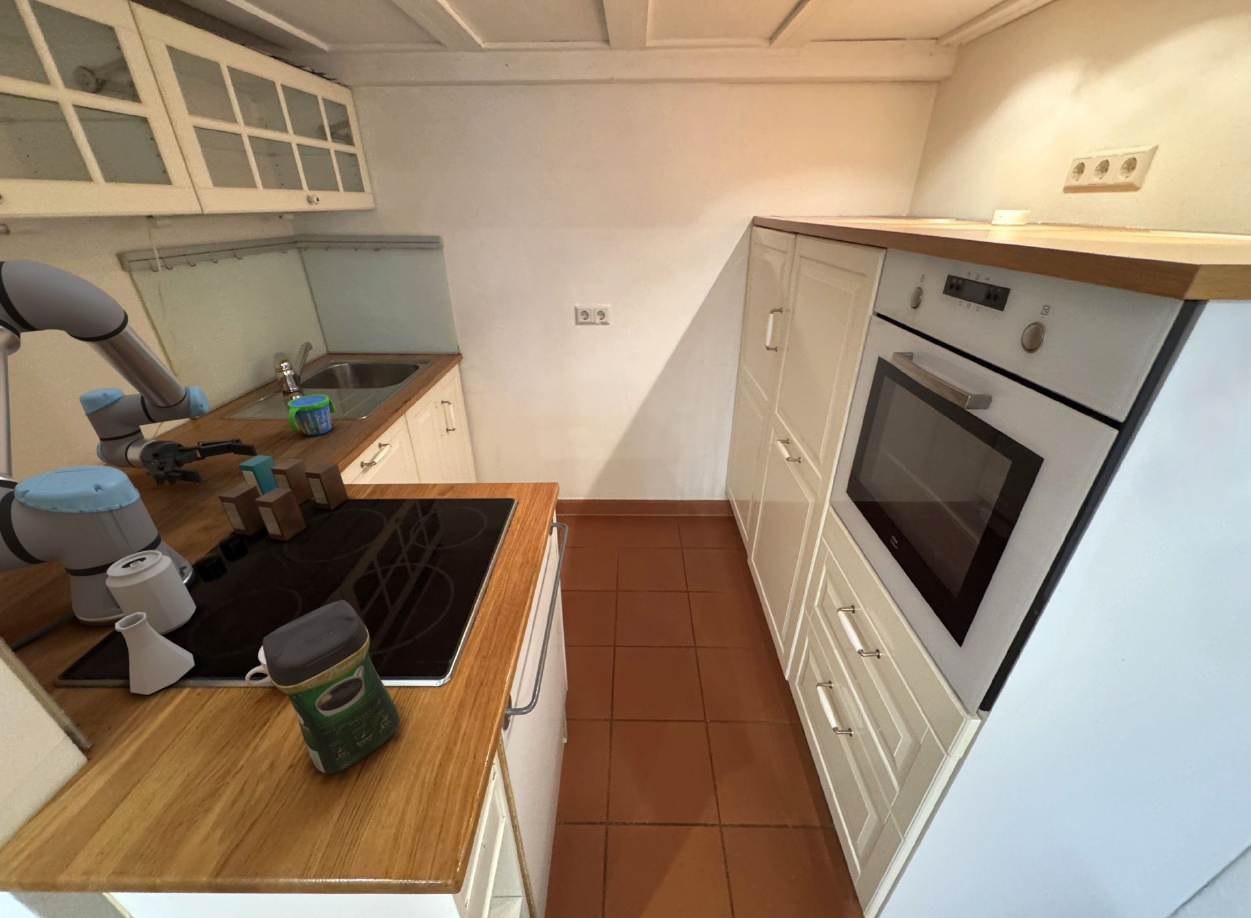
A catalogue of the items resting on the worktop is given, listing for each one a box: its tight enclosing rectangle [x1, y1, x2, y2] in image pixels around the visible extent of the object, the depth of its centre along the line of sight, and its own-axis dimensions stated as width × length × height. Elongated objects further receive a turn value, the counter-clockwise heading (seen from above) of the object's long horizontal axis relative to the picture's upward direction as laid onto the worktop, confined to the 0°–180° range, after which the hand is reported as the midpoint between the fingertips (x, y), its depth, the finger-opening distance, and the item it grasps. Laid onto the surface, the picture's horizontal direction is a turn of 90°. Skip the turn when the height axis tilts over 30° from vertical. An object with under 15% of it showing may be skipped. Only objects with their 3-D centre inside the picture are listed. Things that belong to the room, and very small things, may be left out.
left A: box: [218, 483, 266, 536], centre depth 102 cm, size 5×4×9 cm
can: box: [106, 550, 197, 636], centre depth 77 cm, size 8×8×12 cm
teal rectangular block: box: [238, 454, 278, 496], centre depth 114 cm, size 5×4×9 cm
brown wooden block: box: [254, 488, 307, 542], centre depth 100 cm, size 5×4×9 cm
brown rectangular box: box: [271, 458, 313, 506], centre depth 112 cm, size 5×4×9 cm
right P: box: [305, 461, 349, 510], centre depth 110 cm, size 5×4×9 cm
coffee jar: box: [262, 599, 400, 775], centre depth 57 cm, size 10×8×19 cm
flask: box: [114, 612, 195, 696], centre depth 68 cm, size 7×7×10 cm
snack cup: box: [287, 394, 336, 437], centre depth 149 cm, size 16×10×10 cm
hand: (227, 462), depth 115 cm, fingers open, 13 cm apart
